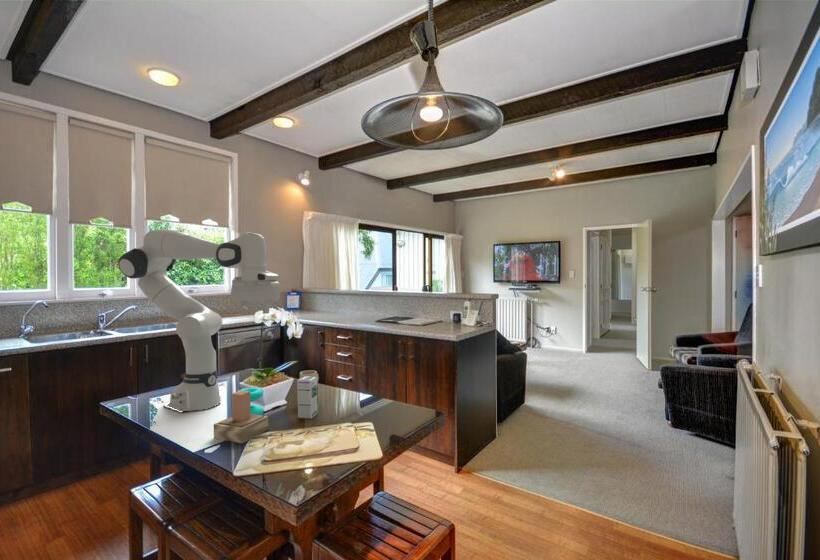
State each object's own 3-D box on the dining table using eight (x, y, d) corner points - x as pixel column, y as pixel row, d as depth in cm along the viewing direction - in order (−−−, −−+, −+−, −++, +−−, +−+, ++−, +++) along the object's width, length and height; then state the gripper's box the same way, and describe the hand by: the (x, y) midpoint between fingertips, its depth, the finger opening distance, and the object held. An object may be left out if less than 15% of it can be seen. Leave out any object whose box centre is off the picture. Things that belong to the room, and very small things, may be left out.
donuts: (268, 388, 149) (247, 395, 140) (268, 414, 149) (247, 422, 140) (250, 385, 153) (228, 392, 144) (250, 410, 153) (229, 418, 144)
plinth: (213, 438, 126) (213, 423, 126) (241, 425, 137) (241, 411, 137) (242, 443, 122) (242, 427, 122) (268, 429, 133) (268, 415, 133)
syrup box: (311, 418, 143) (311, 380, 143) (297, 417, 144) (297, 379, 144) (318, 413, 149) (318, 376, 149) (304, 412, 150) (304, 375, 150)
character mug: (312, 397, 168) (312, 368, 168) (324, 400, 164) (323, 370, 164) (292, 404, 159) (292, 373, 159) (303, 408, 155) (303, 376, 155)
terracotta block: (232, 420, 128) (232, 393, 128) (241, 416, 132) (241, 390, 132) (241, 421, 127) (241, 394, 127) (250, 417, 131) (250, 391, 131)
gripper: (225, 276, 142) (227, 314, 142) (271, 275, 135) (272, 314, 135) (238, 276, 148) (239, 312, 148) (282, 275, 141) (283, 312, 141)
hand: (255, 313), depth 142 cm, fingers open, 8 cm apart
